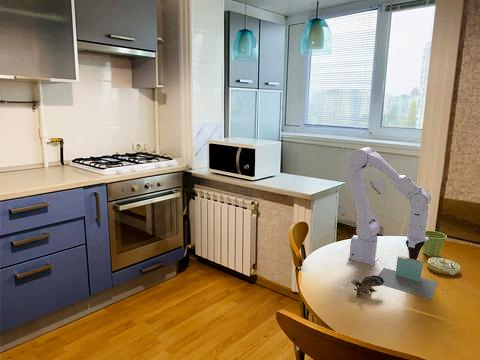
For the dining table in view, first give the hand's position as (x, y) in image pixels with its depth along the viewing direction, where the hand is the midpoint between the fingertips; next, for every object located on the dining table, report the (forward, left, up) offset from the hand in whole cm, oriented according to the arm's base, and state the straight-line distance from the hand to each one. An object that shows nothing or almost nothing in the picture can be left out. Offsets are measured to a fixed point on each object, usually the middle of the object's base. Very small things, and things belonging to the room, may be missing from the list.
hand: (413, 260), depth 131 cm
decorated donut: (+9, +9, -5) cm, 14 cm away
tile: (0, -6, -4) cm, 8 cm away
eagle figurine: (-9, -25, -5) cm, 27 cm away
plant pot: (+3, +23, -5) cm, 24 cm away
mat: (0, -10, -5) cm, 11 cm away
